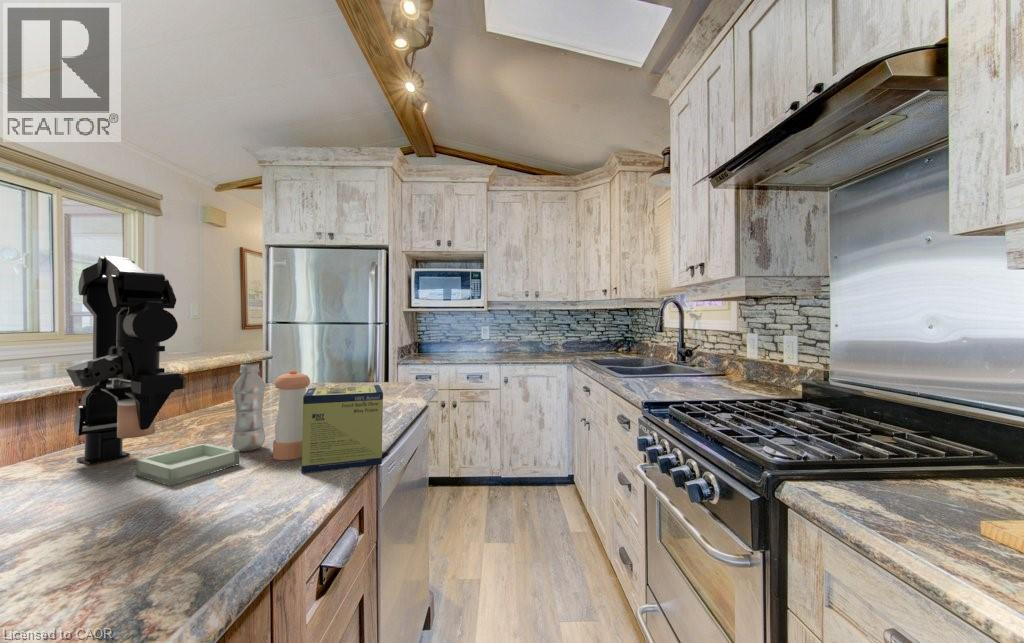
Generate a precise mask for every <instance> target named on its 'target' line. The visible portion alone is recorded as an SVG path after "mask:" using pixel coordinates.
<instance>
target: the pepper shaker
mask: <svg viewBox="0 0 1024 643" xmlns="http://www.w3.org/2000/svg"><path fill="white" fill-rule="evenodd" d="M310 383H311V379H310V377H309V376H308V375H307V374H304V373H302V372H298V371H297V370H296V369H291V370H289V371H288V373H283V374H281V375H278V376H277V377H276V379H275V381H274V386H275V388H276V389H278V405H277V406H278V408H277V413H276V419H275V424H274V434H275V435H274V436H275V437H274V440H273V444H272V458H273V459H274V460H277V461H290V460H295V459H302V432H303V396H304V395H305V394H306V392H307V387H309V385H310Z"/></svg>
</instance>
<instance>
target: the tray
mask: <svg viewBox="0 0 1024 643" xmlns="http://www.w3.org/2000/svg"><path fill="white" fill-rule="evenodd" d="M236 464H239V465H240V451H239V450H235V449H234V448H229V447H224V446H222V445H216V444H211V443H207V442H204V443H201V444H196V445H192V446H188V447H183V448H179V449H175V450H170V451H166V452H163V453H159V454H154V455H151V456H146V457H142V458H138V459H136V460H135V476H137V475H138V476H137V477H140V476H141V478H143V477H145V478H144V479H147V478H149V479H148V480H150V479H152V480H151V481H153V480H155V481H154V482H157V481H158V482H157V483H160V482H161V483H160V484H163V483H165V484H164V485H166V484H167V486H171V485H172V486H175V485H178V484H181V482H182V483H185V482H188V481H191V480H195V479H197V478H196V477H198V478H200V477H199V476H201V477H203V476H202V475H204V476H207V475H206V474H208V473H211V472H214V471H217V470H220V469H224V468H227V467H230V466H233V465H236ZM230 468H231V467H230ZM227 469H228V468H227ZM224 470H225V469H224ZM217 472H218V471H217ZM214 473H215V472H214ZM211 474H212V473H211ZM208 475H209V474H208ZM194 478H195V479H194ZM190 479H191V480H190ZM187 480H188V481H187ZM184 481H185V482H184ZM172 486H171V487H172Z"/></svg>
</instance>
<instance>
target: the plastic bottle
mask: <svg viewBox="0 0 1024 643" xmlns="http://www.w3.org/2000/svg"><path fill="white" fill-rule="evenodd" d="M239 373H240V376H239V377H238V379H236V381H235V382H234V383H233V386H232V395H233V396H232V397H233V402H234V411H235V413H234V414H235V415H234V417H235V418H234V425H233V427H234V428H233V432H232V437H231V445H232V449H235V450H239V452H251V451H254V450H257V449H261V448H262V446H263V445H264V444H265V441H266V433H265V428H264V420H263V408H264V407H263V406H264V399H265V393H266V392H265V391H266V384H265V381H264V380H263V378H262V377H261V376H260V375H259V373H260V365H259V363H244V364H240V368H239ZM250 450H251V451H250Z"/></svg>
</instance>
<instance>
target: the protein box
mask: <svg viewBox="0 0 1024 643" xmlns="http://www.w3.org/2000/svg"><path fill="white" fill-rule="evenodd" d="M383 409H384V392H383V390H382V387H381V386H380V385H379V384H370V385H355V386H352V385H351V386H335V387H334V386H333V387H332V386H331V387H312V388H308V389H307V390H306V394H305V395H304V396H303V432H302V457H301V469H300V471H301V474H309V473H311V474H312V473H319V472H326V471H335V470H337V471H338V470H343V469H353V468H361V467H370V466H371V467H372V466H379V465H382V462H383V459H382V458H383V415H384V410H383Z"/></svg>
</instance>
